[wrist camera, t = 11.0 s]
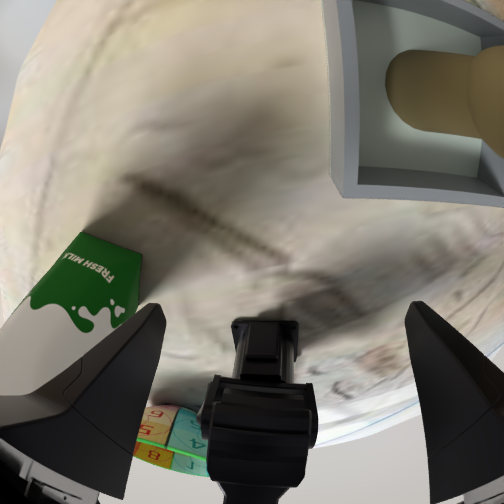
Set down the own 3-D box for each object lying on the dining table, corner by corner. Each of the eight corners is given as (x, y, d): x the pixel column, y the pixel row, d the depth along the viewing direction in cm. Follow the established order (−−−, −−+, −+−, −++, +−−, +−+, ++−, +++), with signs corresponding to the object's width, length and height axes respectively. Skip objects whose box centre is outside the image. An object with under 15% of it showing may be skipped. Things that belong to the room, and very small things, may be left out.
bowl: (221, 442, 49) (215, 481, 41) (123, 409, 47) (109, 448, 38) (263, 410, 38) (258, 468, 29) (122, 363, 35) (98, 420, 26)
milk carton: (79, 286, 27) (-9, 430, 10) (74, 219, 22) (-65, 381, 5) (145, 314, 28) (74, 485, 11) (153, 248, 23) (33, 471, 6)
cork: (462, 73, 12) (577, 93, 3) (445, 144, 15) (553, 208, 6) (393, 35, 12) (502, 3, 2) (375, 112, 15) (481, 149, 6)
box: (478, 185, 17) (509, 208, 13) (329, 174, 18) (342, 198, 14) (482, 32, 9) (516, 30, 6) (319, -10, 11) (330, -36, 7)
